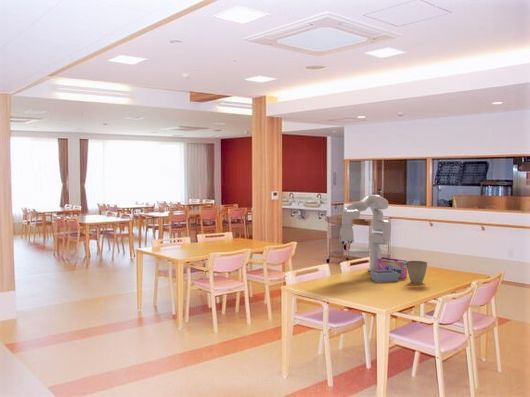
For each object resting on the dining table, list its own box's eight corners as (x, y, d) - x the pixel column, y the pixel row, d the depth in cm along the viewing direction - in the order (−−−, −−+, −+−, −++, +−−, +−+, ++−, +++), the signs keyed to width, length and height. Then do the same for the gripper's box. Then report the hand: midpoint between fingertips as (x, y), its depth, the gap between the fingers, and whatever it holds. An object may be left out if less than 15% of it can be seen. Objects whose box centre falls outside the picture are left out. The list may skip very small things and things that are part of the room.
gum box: (375, 274, 404) (375, 258, 403) (380, 273, 410) (380, 257, 409) (401, 279, 387) (402, 261, 386) (407, 277, 393) (407, 260, 392)
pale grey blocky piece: (342, 251, 395) (342, 241, 395) (365, 250, 399) (366, 241, 399) (348, 253, 384) (348, 243, 384) (371, 253, 389) (371, 243, 388)
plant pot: (428, 282, 375) (429, 261, 374) (424, 286, 362) (425, 264, 361) (408, 280, 382) (408, 259, 382) (403, 284, 369) (404, 262, 368)
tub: (370, 280, 384) (370, 270, 384) (391, 279, 388) (391, 270, 388) (376, 283, 374) (377, 273, 373) (397, 282, 377) (398, 272, 377)
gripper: (354, 225, 394) (354, 248, 395) (335, 225, 391) (335, 249, 392) (358, 226, 387) (358, 250, 388) (338, 226, 384) (338, 250, 384)
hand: (346, 249), depth 390 cm, fingers closed on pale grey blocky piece
